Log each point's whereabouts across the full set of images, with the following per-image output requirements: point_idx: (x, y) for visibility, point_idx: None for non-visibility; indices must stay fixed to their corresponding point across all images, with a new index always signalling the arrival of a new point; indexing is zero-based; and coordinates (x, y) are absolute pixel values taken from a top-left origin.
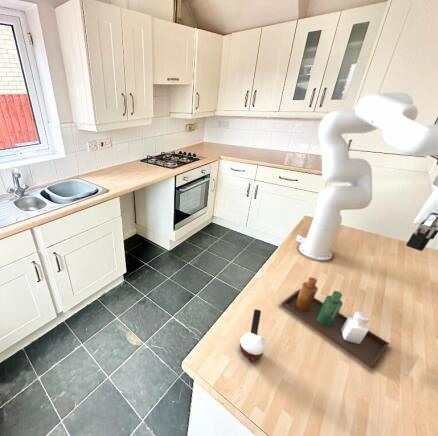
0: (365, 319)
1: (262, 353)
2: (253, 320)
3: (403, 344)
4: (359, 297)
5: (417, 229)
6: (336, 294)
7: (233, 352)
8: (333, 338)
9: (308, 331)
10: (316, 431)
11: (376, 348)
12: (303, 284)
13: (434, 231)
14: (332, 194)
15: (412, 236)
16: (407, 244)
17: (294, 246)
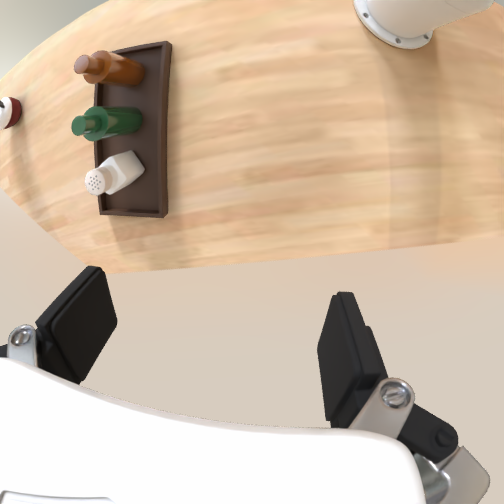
0: (89, 190)
1: (5, 128)
2: None
3: (203, 230)
4: (284, 134)
5: (9, 355)
6: (74, 126)
7: None
8: (95, 155)
9: None
10: (17, 204)
11: (146, 204)
12: (92, 55)
13: (324, 385)
14: None
15: (52, 310)
16: (86, 272)
17: None
